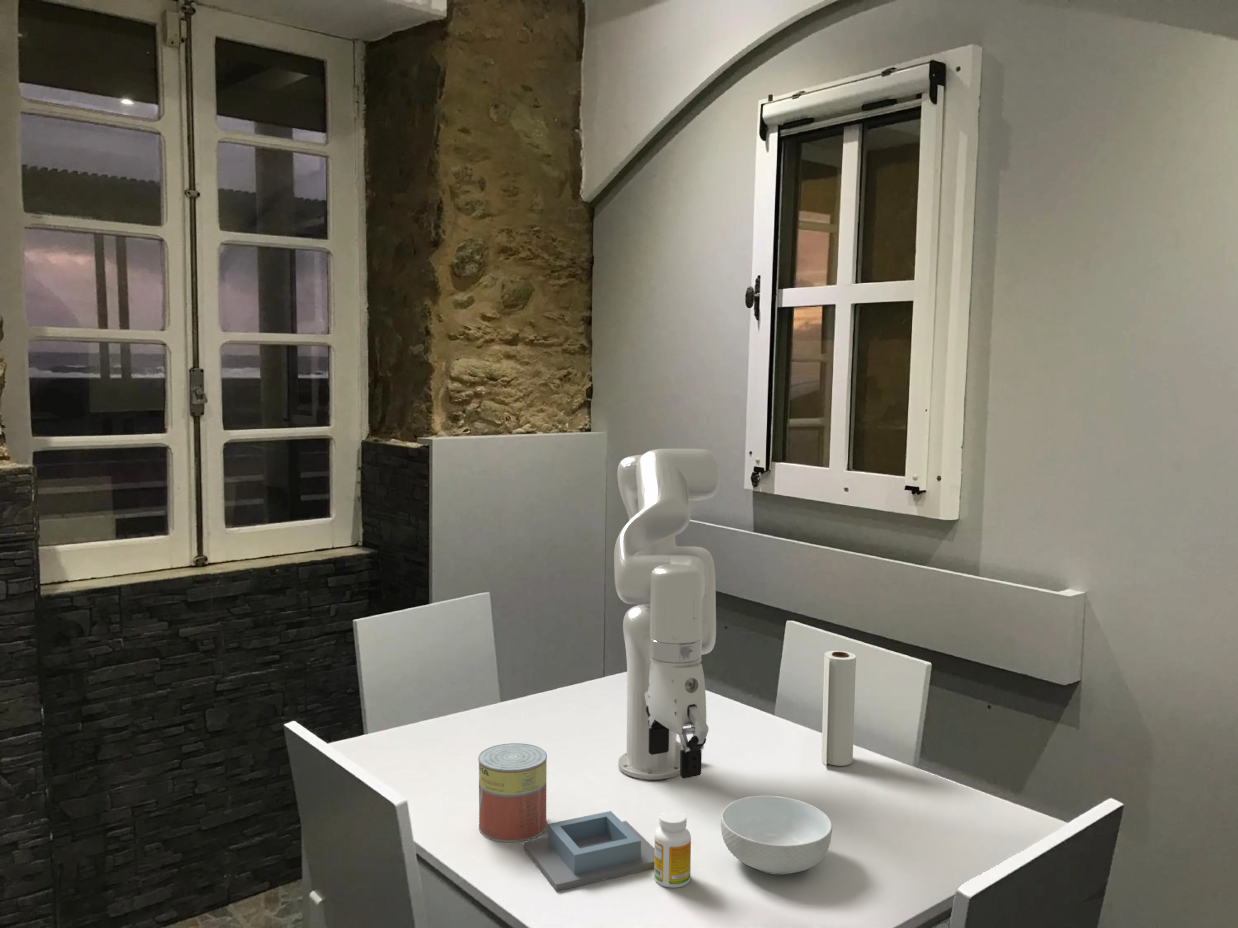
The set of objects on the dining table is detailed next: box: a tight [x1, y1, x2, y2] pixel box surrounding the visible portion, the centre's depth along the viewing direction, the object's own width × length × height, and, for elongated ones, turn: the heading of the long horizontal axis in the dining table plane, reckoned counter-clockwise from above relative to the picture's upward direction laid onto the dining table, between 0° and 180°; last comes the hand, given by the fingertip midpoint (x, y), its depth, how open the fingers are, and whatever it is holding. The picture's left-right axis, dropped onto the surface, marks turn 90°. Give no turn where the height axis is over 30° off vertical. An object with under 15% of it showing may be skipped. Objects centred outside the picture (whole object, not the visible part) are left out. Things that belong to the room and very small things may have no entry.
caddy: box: [522, 810, 655, 892], centre depth 150 cm, size 18×14×4 cm
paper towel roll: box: [821, 650, 857, 769], centre depth 188 cm, size 7×6×21 cm
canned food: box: [477, 742, 548, 843], centre depth 160 cm, size 11×11×12 cm
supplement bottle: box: [653, 810, 692, 889], centre depth 144 cm, size 5×5×10 cm
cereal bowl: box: [720, 795, 833, 875], centre depth 149 cm, size 17×17×7 cm
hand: (674, 764), depth 142 cm, fingers open, 9 cm apart
